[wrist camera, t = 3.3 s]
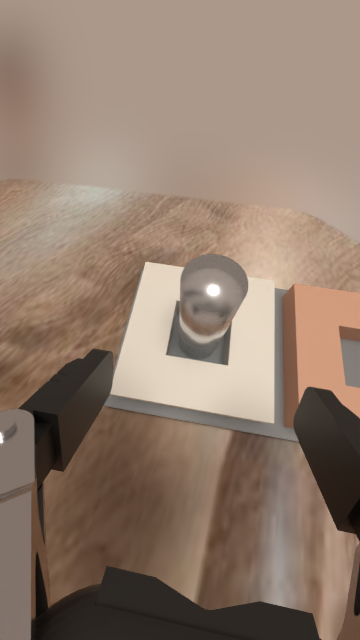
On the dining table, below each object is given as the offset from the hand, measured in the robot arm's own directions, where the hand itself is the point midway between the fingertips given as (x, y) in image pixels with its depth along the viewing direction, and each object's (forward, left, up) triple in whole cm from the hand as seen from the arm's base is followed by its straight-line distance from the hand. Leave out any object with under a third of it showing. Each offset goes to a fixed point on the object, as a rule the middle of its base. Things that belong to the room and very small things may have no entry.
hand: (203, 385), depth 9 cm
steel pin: (0, +5, -10) cm, 12 cm away
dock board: (+7, +5, -11) cm, 14 cm away
